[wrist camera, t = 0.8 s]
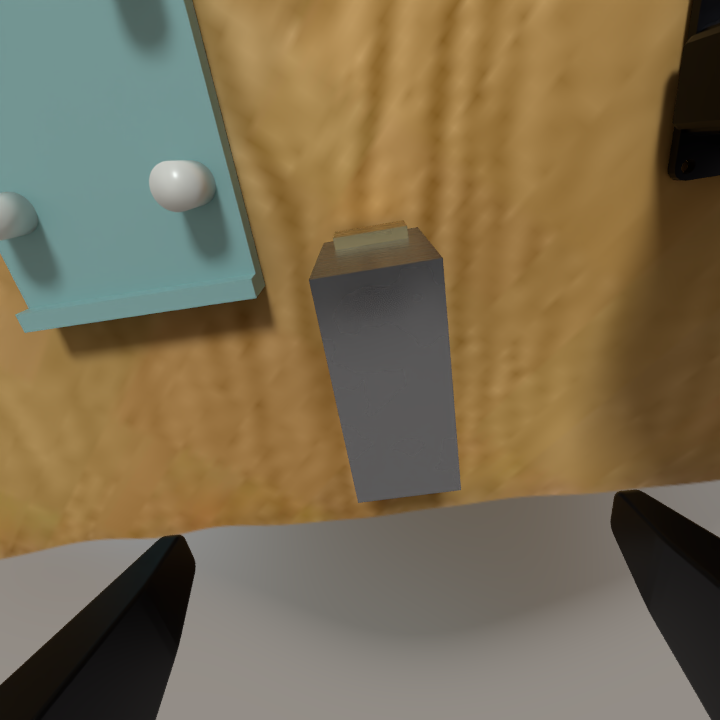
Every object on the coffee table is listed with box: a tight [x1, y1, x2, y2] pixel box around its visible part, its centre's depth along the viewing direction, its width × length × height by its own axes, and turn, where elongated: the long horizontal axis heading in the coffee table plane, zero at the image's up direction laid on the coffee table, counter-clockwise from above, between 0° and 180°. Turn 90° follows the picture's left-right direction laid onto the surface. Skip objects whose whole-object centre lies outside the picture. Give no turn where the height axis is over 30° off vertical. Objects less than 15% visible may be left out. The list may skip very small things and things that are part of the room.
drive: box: [309, 221, 461, 503], centre depth 17 cm, size 4×10×6 cm, turn 9°
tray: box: [0, 0, 265, 333], centre depth 14 cm, size 10×16×3 cm, turn 9°
